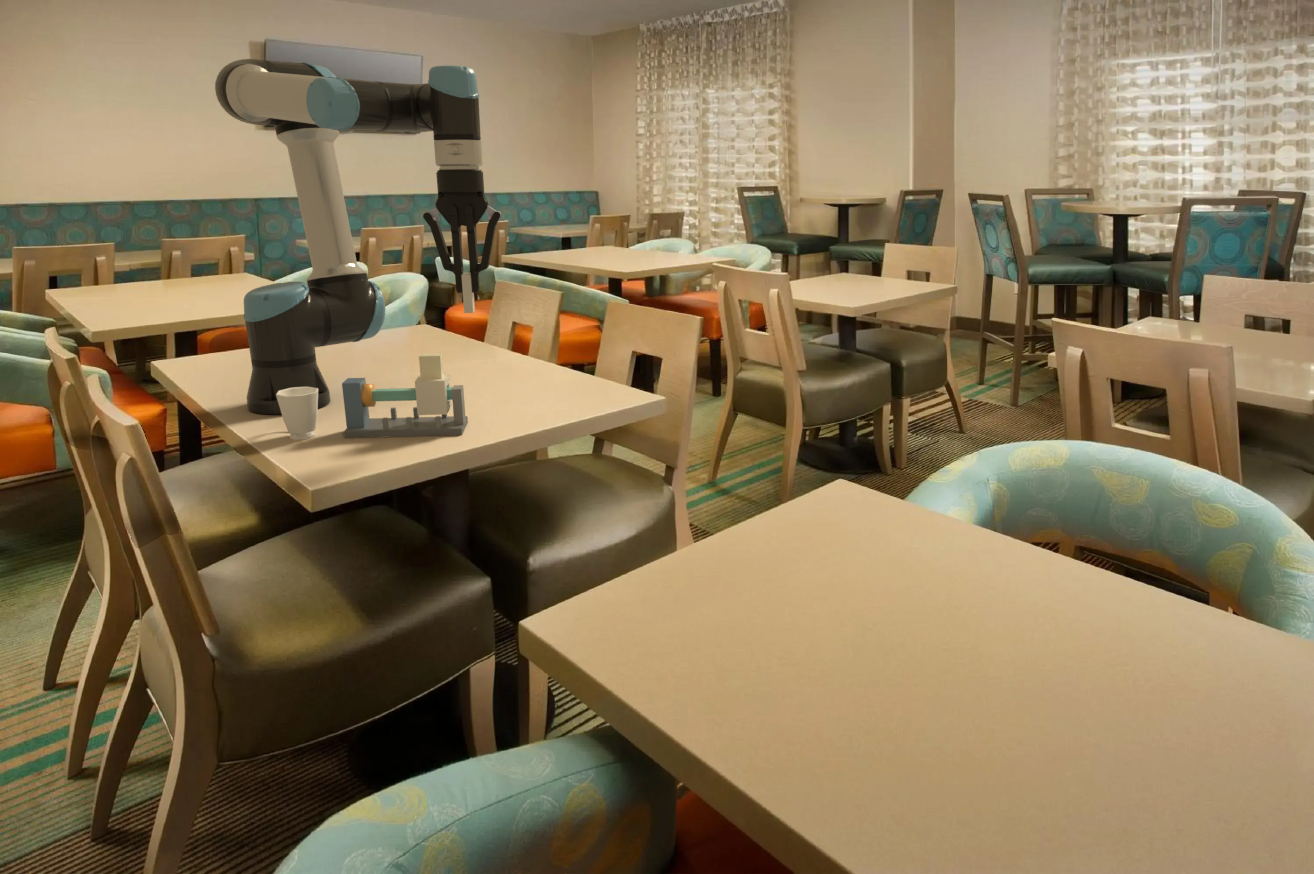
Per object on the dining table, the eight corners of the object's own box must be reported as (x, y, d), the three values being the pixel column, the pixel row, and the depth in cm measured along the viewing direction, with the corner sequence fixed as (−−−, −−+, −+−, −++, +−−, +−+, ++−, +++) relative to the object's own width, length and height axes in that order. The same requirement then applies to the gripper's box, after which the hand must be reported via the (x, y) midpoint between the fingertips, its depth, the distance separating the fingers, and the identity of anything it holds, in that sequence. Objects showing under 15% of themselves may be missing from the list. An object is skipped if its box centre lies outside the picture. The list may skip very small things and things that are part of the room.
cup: (287, 444, 148) (281, 398, 145) (272, 431, 155) (265, 387, 153) (329, 437, 152) (324, 392, 149) (312, 424, 159) (307, 381, 157)
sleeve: (451, 405, 158) (447, 351, 155) (446, 414, 152) (442, 357, 149) (423, 406, 158) (419, 351, 155) (417, 415, 152) (412, 358, 149)
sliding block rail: (467, 422, 160) (464, 373, 158) (462, 434, 153) (458, 383, 150) (356, 425, 159) (350, 375, 156) (344, 438, 151) (338, 386, 148)
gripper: (414, 168, 140) (427, 316, 146) (497, 167, 141) (506, 314, 147) (423, 168, 147) (434, 309, 153) (501, 168, 148) (509, 308, 154)
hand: (469, 311), depth 150 cm, fingers closed
